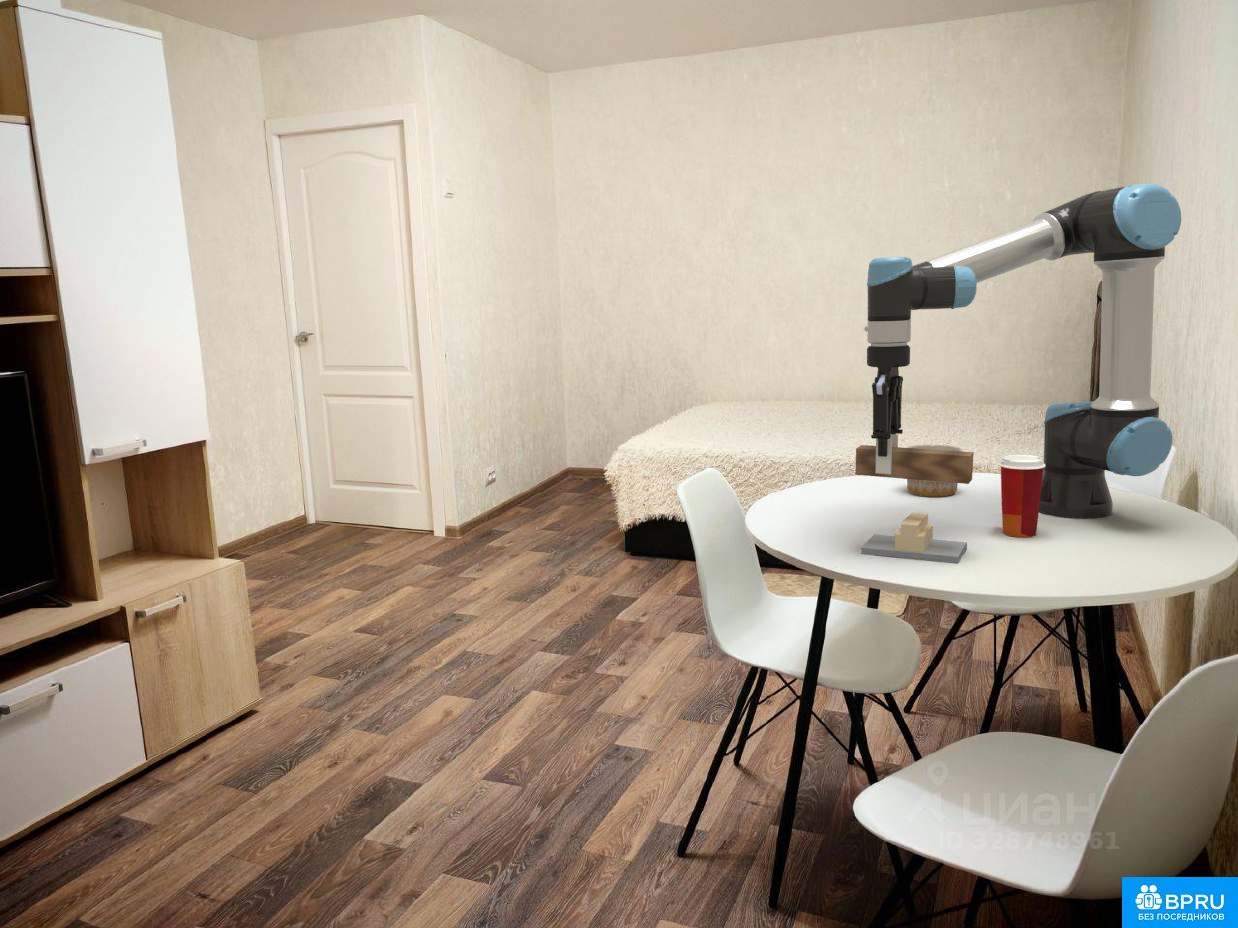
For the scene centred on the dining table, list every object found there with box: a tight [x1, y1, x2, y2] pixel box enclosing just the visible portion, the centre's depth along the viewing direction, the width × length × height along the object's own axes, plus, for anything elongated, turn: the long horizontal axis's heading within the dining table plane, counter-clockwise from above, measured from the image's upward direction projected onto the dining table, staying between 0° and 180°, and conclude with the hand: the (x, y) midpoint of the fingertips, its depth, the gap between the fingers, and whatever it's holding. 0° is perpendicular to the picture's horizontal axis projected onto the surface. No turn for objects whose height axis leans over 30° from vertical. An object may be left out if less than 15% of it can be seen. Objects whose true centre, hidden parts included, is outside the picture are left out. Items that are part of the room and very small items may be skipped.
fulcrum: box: [860, 512, 968, 564], centre depth 167 cm, size 17×10×6 cm, turn 61°
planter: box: [906, 444, 963, 498], centre depth 212 cm, size 13×13×10 cm
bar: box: [854, 444, 975, 485], centre depth 165 cm, size 20×4×5 cm, turn 60°
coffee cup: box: [997, 454, 1045, 538], centre depth 174 cm, size 8×8×15 cm
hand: (886, 470), depth 167 cm, fingers closed on bar, 4 cm apart
